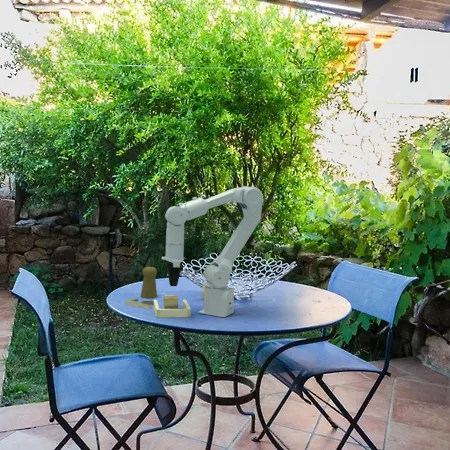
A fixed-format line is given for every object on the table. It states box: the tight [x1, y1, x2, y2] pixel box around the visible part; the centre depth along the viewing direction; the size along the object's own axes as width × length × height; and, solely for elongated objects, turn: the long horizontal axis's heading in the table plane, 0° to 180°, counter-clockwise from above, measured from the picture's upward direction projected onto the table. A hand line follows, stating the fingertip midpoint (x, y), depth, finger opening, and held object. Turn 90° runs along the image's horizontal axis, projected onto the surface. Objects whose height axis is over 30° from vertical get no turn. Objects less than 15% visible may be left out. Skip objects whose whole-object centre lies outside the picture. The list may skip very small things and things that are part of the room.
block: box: [162, 294, 179, 309], centre depth 167 cm, size 4×4×4 cm
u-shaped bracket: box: [152, 299, 192, 319], centre depth 165 cm, size 13×11×2 cm
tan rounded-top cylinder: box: [202, 284, 205, 301], centre depth 185 cm, size 5×5×5 cm
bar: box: [124, 297, 153, 310], centre depth 171 cm, size 10×6×2 cm, turn 64°
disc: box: [141, 300, 154, 306], centre depth 174 cm, size 6×6×1 cm
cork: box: [140, 266, 158, 300], centre depth 184 cm, size 6×6×11 cm
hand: (173, 285), depth 161 cm, fingers closed
